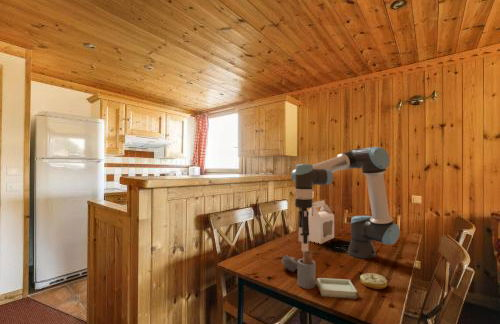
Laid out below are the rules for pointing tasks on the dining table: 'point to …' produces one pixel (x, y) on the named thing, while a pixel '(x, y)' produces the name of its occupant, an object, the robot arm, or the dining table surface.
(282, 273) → the dining table surface
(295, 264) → the fossil
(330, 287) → the sage tray
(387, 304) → the dining table surface
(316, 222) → the gable box
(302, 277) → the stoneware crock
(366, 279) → the decorated donut
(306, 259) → the walnut dowel
